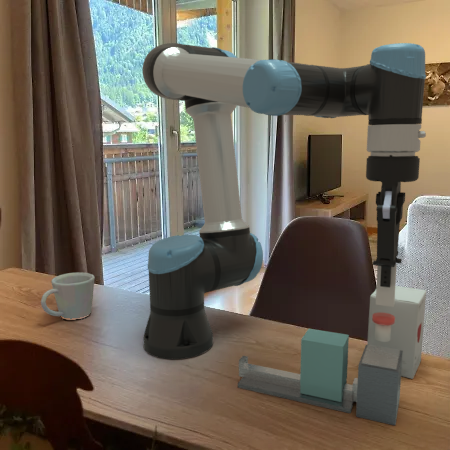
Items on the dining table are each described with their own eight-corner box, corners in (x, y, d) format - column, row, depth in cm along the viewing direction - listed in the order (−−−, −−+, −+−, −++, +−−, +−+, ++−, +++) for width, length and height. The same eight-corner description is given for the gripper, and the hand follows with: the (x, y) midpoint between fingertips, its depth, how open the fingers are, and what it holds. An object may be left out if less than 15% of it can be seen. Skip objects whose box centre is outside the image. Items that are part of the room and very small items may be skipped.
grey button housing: (356, 416, 75) (358, 363, 74) (363, 392, 82) (365, 342, 81) (395, 425, 73) (398, 370, 71) (399, 399, 80) (402, 349, 78)
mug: (105, 312, 121) (103, 275, 119) (57, 333, 109) (54, 292, 107) (78, 305, 127) (75, 270, 125) (29, 324, 114) (26, 284, 112)
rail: (233, 386, 85) (233, 366, 84) (247, 369, 91) (247, 350, 90) (355, 414, 76) (356, 392, 75) (361, 393, 82) (362, 372, 81)
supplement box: (413, 380, 86) (419, 303, 84) (365, 368, 91) (368, 295, 88) (422, 360, 94) (427, 289, 91) (377, 350, 99) (380, 282, 96)
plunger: (370, 340, 75) (371, 318, 74) (372, 332, 78) (374, 311, 77) (392, 344, 73) (393, 321, 72) (394, 336, 76) (395, 314, 76)
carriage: (300, 393, 80) (301, 339, 79) (307, 380, 85) (308, 328, 83) (341, 402, 78) (343, 346, 76) (346, 388, 82) (348, 334, 80)
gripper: (418, 156, 63) (407, 322, 67) (421, 152, 74) (412, 294, 78) (360, 155, 66) (354, 314, 70) (372, 152, 77) (366, 289, 82)
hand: (385, 304), depth 74 cm, fingers closed
